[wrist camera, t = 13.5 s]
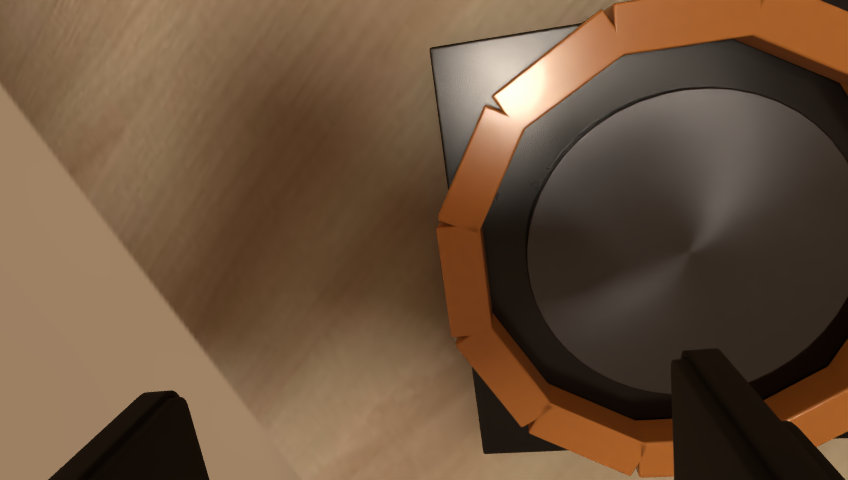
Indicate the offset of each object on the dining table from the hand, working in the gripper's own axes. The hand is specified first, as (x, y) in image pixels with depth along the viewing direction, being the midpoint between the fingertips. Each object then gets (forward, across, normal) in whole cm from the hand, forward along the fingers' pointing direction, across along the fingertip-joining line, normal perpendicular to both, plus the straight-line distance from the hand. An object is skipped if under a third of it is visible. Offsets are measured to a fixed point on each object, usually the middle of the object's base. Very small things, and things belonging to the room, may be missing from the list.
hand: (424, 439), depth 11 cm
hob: (+12, -8, 0) cm, 14 cm away
